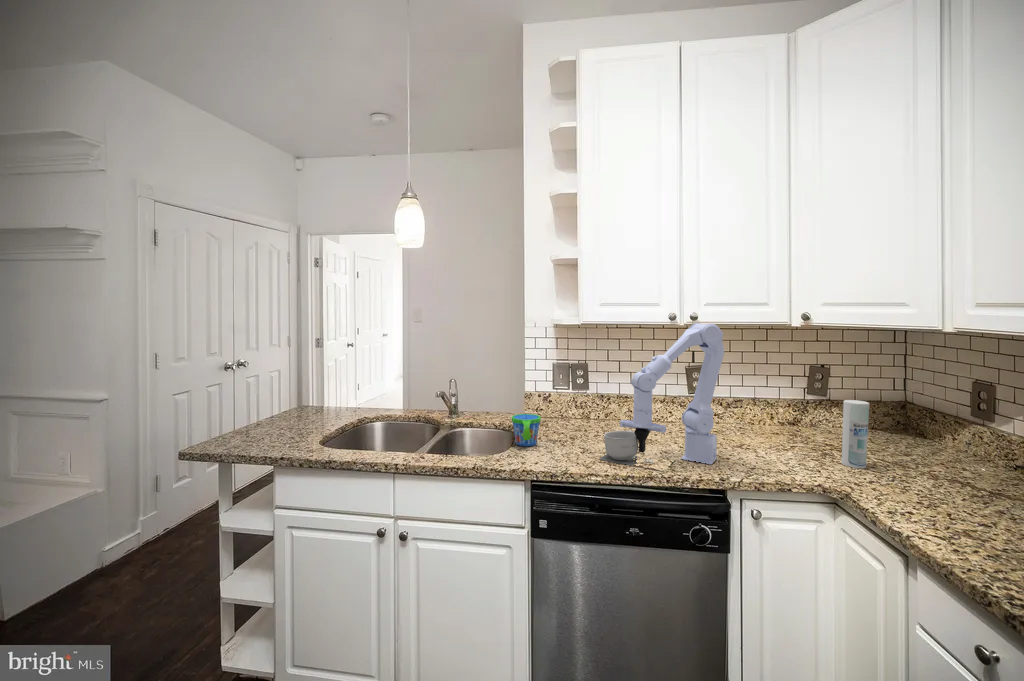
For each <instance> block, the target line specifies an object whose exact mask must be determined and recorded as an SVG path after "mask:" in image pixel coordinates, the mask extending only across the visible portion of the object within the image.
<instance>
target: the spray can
mask: <svg viewBox="0 0 1024 681" xmlns="http://www.w3.org/2000/svg"><path fill="white" fill-rule="evenodd" d="M869 416H870V402H867V401H864V400H856V399H845V400H843V404H842V435H841V436H842V437H841V465H842V464H843V465H842V466H844V465H845V467H847V466H848V468H851V467H853V468H852V469H860V468H862V469H866V468H867V457H868V456H867V454H868V437H869V435H868V434H869V421H870V419H869Z"/></svg>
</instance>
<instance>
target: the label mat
mask: <svg viewBox="0 0 1024 681" xmlns="http://www.w3.org/2000/svg"><path fill="white" fill-rule="evenodd" d="M634 457H635V458H634ZM636 458H637V456H633V458H631V459H628V460H616V459H613V458H611V456H609V455H608V454H607V453H606V454H605V455H603V456H601V457H600V458H599V459H598V460H600V461H606V462H610V463H611V462H612V463H615V464H620V465H625V464H626V465H627V466H631V465H634V464H636V463H637V462H636V460H637V459H636ZM633 459H635V460H633ZM647 460H648V461H651V459H646V460H645V461H644V463H651V462H652V464H654V463H653V461H654V460H652V461H651V462H646V461H647ZM633 461H634V463H633ZM626 465H625V466H626Z"/></svg>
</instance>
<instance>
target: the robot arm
mask: <svg viewBox="0 0 1024 681" xmlns="http://www.w3.org/2000/svg"><path fill="white" fill-rule="evenodd" d="M723 336H724V333H723V331H722V330H721V329H720V327H719V326H718V325H717V324H715V323H701V322H700V323H699V322H696V323H693V324H692V325H690V327H689V328H687V329H685V330H684V332H683V334H682V335H681V336H680V337H679V338H678V339H677V340H676V341H675V342H674V343H673V344H672V346H671V347H669V349H668V350H666V352H665V353H664V354H658V355H654V356H652V358H651V360H650V362H648V364H647V365H646V366H645V367H644V366H643V367H642V368H640V370H641V371H638V372H635V374H633V376H632V378H631V380H630V384H631V386H632V387H633V411H632V412H633V417H632V420H628V419H627V420H625V419H621V420H619V427H620V428H631V429H634V431H633V432H634V433H635V435H636V437H637V439H638V452H639V453H641V454H644V453H645V452H646V441H647V439H648V436H649V434H650V433H651V431H652V432H658V433H659V432H660V433H662V434H665V433H666V432H667V425H663V424H658V423H654V422H652V421H653V390H654V389H655V388H656V387H657V382H658V381H659V380H660V379H661V378H662V377H663V376H664V375H665V374H666V373H667V372H668V371H669V370H670V369H672V362H674V361H675V360H676V359H677V358H679V356H681V355H682V354H683V353H684V352H685V351H687V350H688V349H689V348H690V347H694V346H699V347H700V349H701V350H702V351H703V353H704V357H703V360H702V364H701V369H700V371H699V372H700V373H699V376H698V380H697V384H696V387H695V391H694V395H693V399H692V401H691V402H689V403H688V404H687V407H686V409H685V410H684V412H683V413H682V415H681V422H682V424H683V425H684V426H685V430H684V434H685V435H684V454H683V455H682V456H681V457H680V460H682V459H683V461H688V460H689V461H688V462H694V461H696V462H695V463H699V462H701V464H705V463H706V464H707V465H713V464H714V462H716V460H717V459H718V457H717V452H718V451H717V445H718V444H717V442H718V440H717V438H718V437H717V435H716V434H714V433H710V432H711V431H712V430H713V428H714V425H715V424H714V413H715V412H714V410H713V407H712V401H713V398H714V392H715V390H716V385H717V382H718V378H719V374H720V370H721V366H722V362H723V358H724V354H725V348H724V343H723V342H724V341H723Z"/></svg>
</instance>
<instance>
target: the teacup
mask: <svg viewBox="0 0 1024 681" xmlns="http://www.w3.org/2000/svg"><path fill="white" fill-rule="evenodd" d="M603 438H604V449H605V452H606V454H608V455H609V456H611V458H613V459H616V460H628V459H631V458H633V456H635V455H636V454H637V453H638V452H639V442H638V439H637V437H636V435H635V433H634V431H633V430H632V429H631V430H630V429H628V430H613V431H608V432H605V433H603Z"/></svg>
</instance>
